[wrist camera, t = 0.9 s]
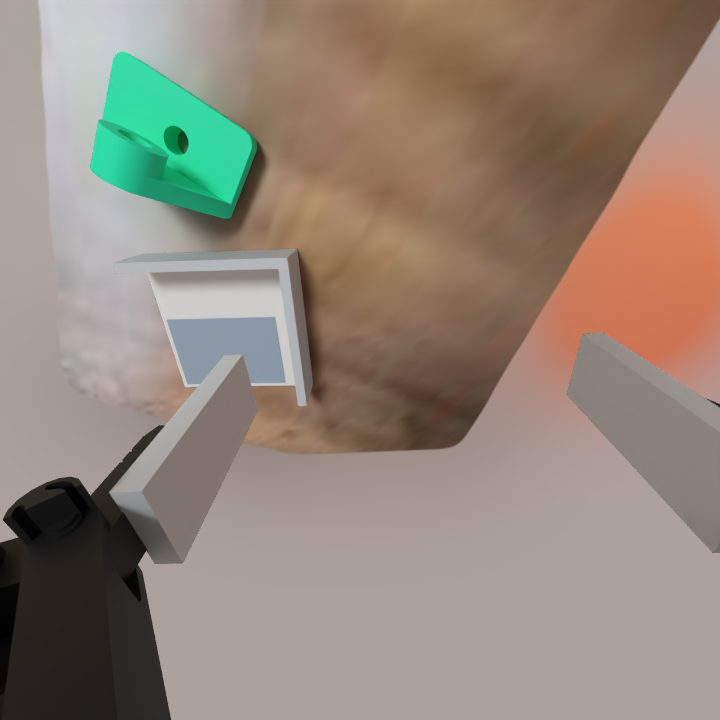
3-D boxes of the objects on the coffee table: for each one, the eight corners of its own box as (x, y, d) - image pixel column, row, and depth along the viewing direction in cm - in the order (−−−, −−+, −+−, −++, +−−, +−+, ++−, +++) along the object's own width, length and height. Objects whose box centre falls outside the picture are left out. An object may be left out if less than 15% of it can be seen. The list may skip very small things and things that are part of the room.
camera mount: (264, 141, 31) (220, 122, 22) (235, 216, 34) (186, 227, 25) (136, 56, 28) (27, -6, 19) (117, 146, 32) (15, 130, 22)
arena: (143, 253, 36) (111, 263, 32) (297, 248, 35) (287, 257, 31) (186, 385, 44) (166, 407, 39) (313, 383, 43) (306, 405, 39)
